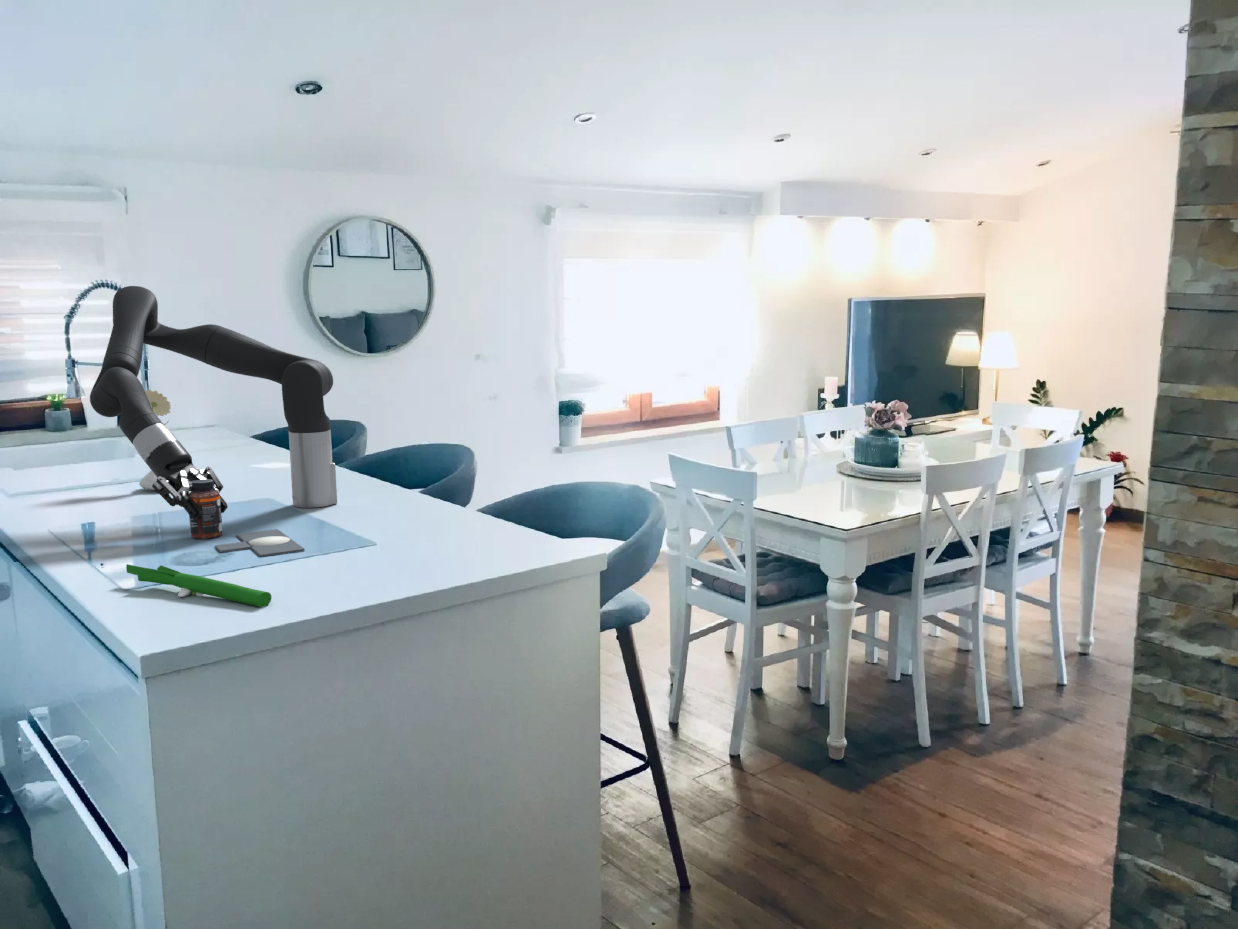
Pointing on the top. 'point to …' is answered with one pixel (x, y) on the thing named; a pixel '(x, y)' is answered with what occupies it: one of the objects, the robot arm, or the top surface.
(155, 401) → the flower in vase
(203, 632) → the top surface
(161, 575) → the green onion
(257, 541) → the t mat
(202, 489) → the supplement bottle
